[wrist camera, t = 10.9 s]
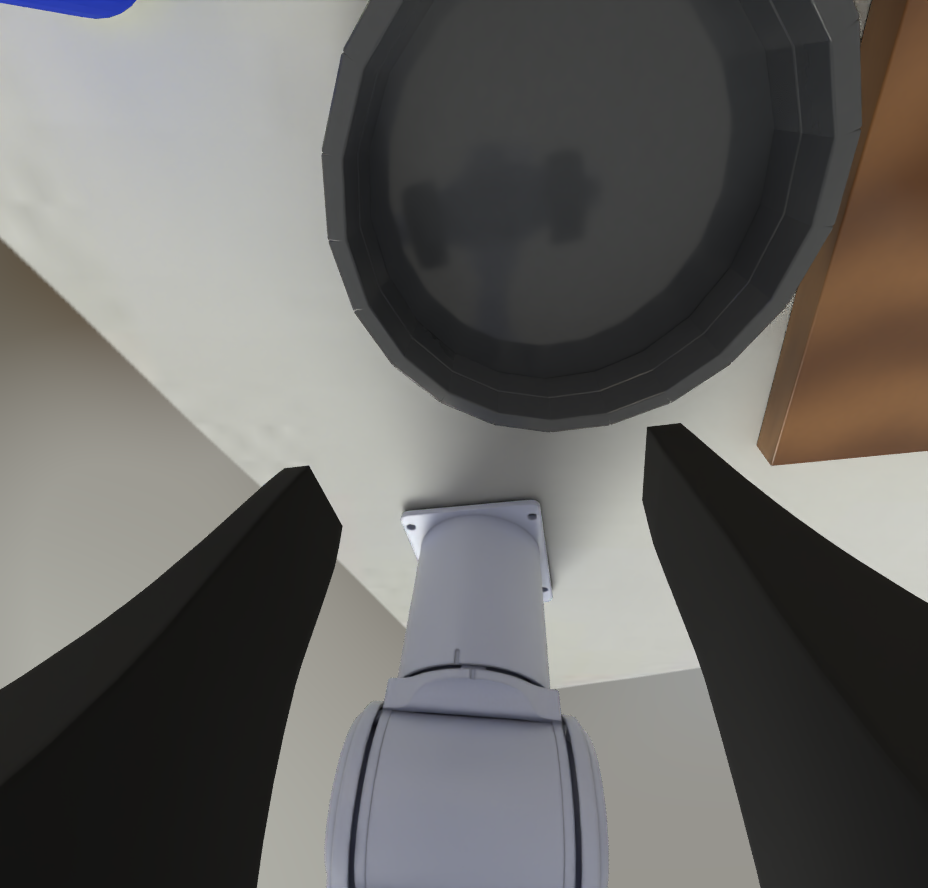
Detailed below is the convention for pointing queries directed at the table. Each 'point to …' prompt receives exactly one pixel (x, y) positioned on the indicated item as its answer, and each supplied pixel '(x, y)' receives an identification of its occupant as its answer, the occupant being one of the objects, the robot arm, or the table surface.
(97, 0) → the beverage can
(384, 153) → the pan
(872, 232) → the chopping board
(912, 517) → the table surface
